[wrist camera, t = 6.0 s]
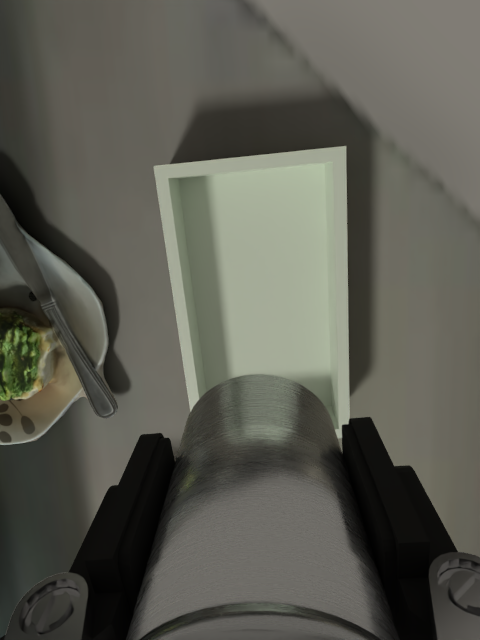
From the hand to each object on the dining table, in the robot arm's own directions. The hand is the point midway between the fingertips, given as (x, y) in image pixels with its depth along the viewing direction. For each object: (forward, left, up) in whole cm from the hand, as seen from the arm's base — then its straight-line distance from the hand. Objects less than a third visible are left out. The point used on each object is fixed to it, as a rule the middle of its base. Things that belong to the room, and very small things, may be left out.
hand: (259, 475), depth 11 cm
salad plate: (+20, 0, -19) cm, 27 cm away
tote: (0, 0, -18) cm, 18 cm away
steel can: (0, 0, -2) cm, 2 cm away
